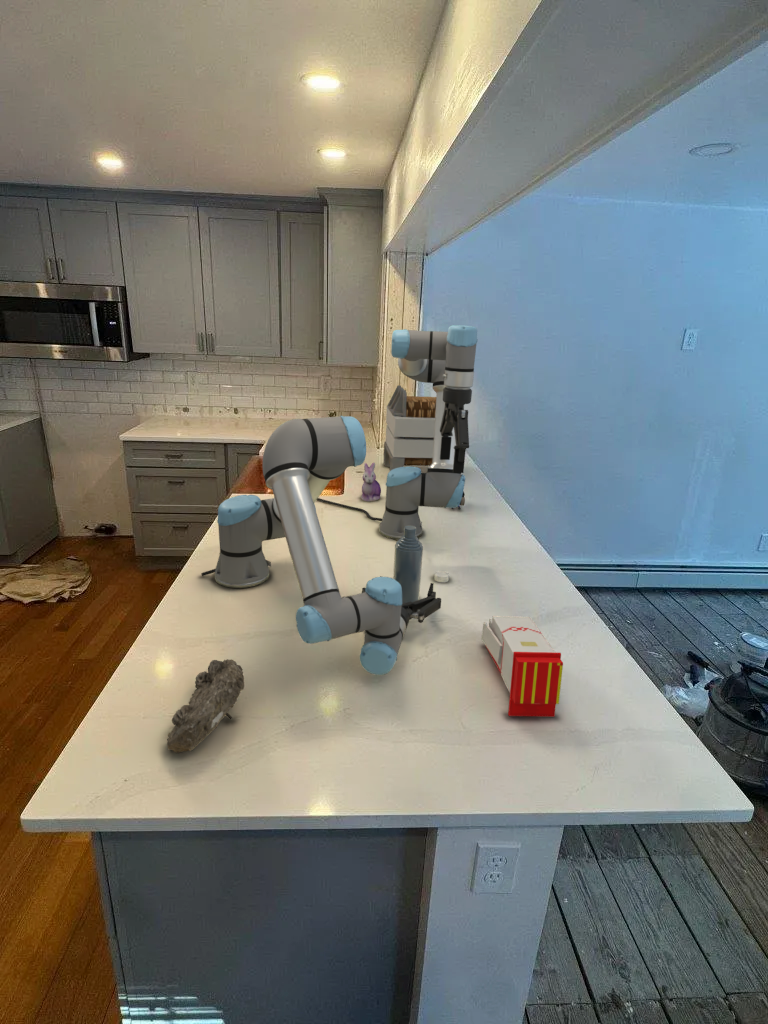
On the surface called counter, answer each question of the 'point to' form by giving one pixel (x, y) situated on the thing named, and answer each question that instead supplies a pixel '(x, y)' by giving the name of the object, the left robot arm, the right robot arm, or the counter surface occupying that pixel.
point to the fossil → (206, 705)
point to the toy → (525, 665)
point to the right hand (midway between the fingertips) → (451, 465)
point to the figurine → (370, 484)
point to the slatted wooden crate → (409, 430)
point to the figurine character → (462, 501)
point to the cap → (441, 576)
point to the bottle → (408, 564)
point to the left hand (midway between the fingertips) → (406, 584)
